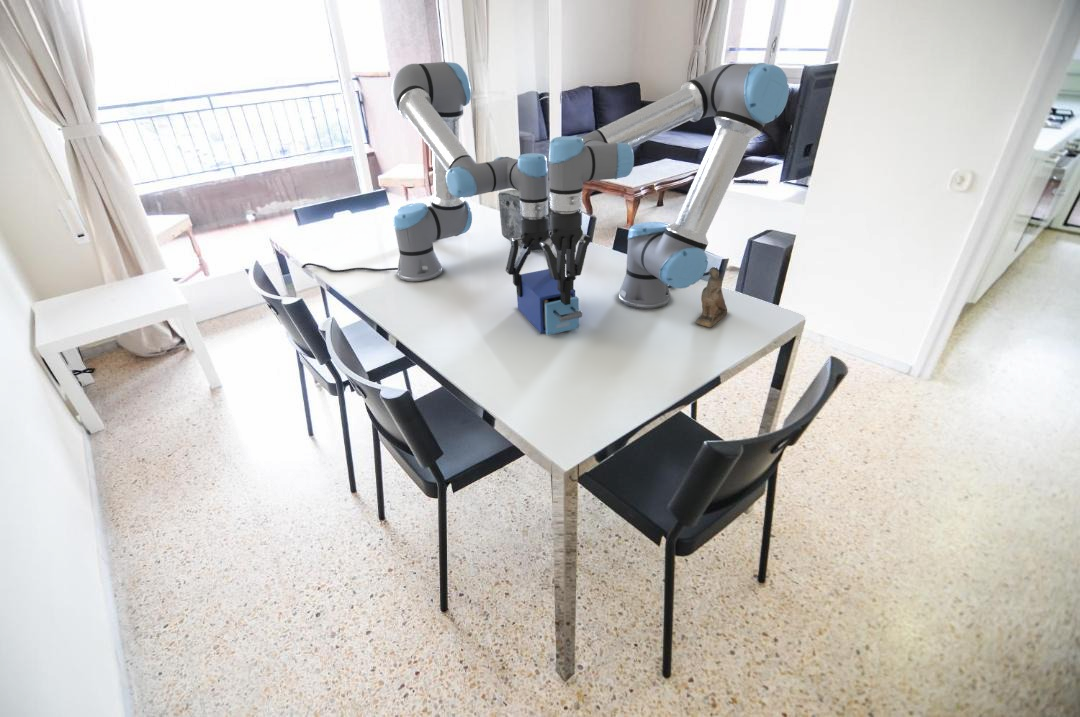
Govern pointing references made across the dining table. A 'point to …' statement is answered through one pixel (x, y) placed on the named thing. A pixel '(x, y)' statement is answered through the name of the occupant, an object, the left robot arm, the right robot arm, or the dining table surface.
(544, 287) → the cabinet
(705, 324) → the worn brown figurine
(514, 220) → the concrete block
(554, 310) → the drawer
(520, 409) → the dining table surface
